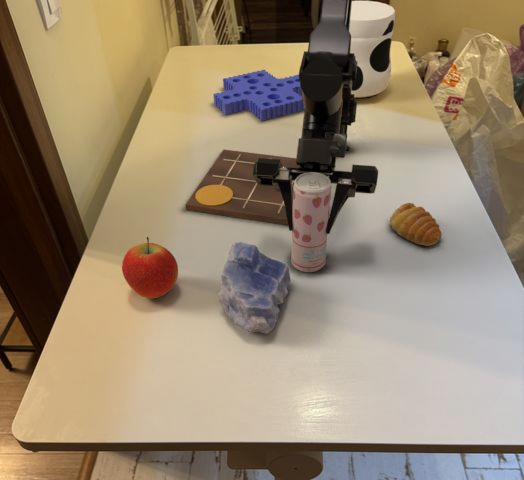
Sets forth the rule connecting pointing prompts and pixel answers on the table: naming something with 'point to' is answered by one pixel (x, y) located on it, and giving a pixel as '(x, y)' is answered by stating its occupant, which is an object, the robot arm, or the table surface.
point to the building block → (260, 95)
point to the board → (239, 189)
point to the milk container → (371, 46)
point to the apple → (150, 269)
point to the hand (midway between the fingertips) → (308, 232)
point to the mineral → (253, 288)
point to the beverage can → (310, 221)
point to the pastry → (415, 225)
